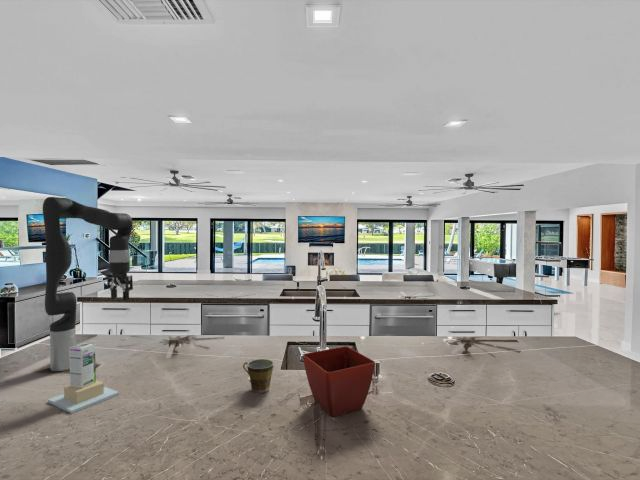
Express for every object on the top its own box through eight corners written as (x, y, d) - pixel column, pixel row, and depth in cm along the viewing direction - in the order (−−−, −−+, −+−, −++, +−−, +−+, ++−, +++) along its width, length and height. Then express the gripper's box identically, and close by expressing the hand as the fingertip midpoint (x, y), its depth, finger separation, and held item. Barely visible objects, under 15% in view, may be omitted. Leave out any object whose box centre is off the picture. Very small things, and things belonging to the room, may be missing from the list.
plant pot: (326, 425, 113) (327, 372, 112) (301, 399, 130) (301, 353, 129) (376, 411, 122) (376, 362, 121) (346, 389, 139) (346, 345, 138)
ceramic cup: (278, 386, 141) (278, 361, 140) (264, 397, 131) (263, 370, 131) (251, 380, 146) (250, 356, 146) (235, 390, 137) (235, 364, 137)
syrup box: (82, 388, 127) (81, 348, 126) (69, 386, 128) (68, 346, 128) (96, 382, 132) (95, 343, 132) (83, 380, 134) (83, 341, 133)
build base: (48, 402, 127) (47, 388, 127) (95, 385, 141) (94, 372, 141) (71, 413, 119) (71, 398, 119) (118, 394, 133) (118, 381, 133)
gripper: (100, 260, 150) (101, 299, 151) (120, 262, 143) (121, 302, 144) (118, 259, 157) (118, 296, 157) (138, 261, 150) (138, 299, 150)
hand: (119, 299), depth 150 cm, fingers open, 8 cm apart
